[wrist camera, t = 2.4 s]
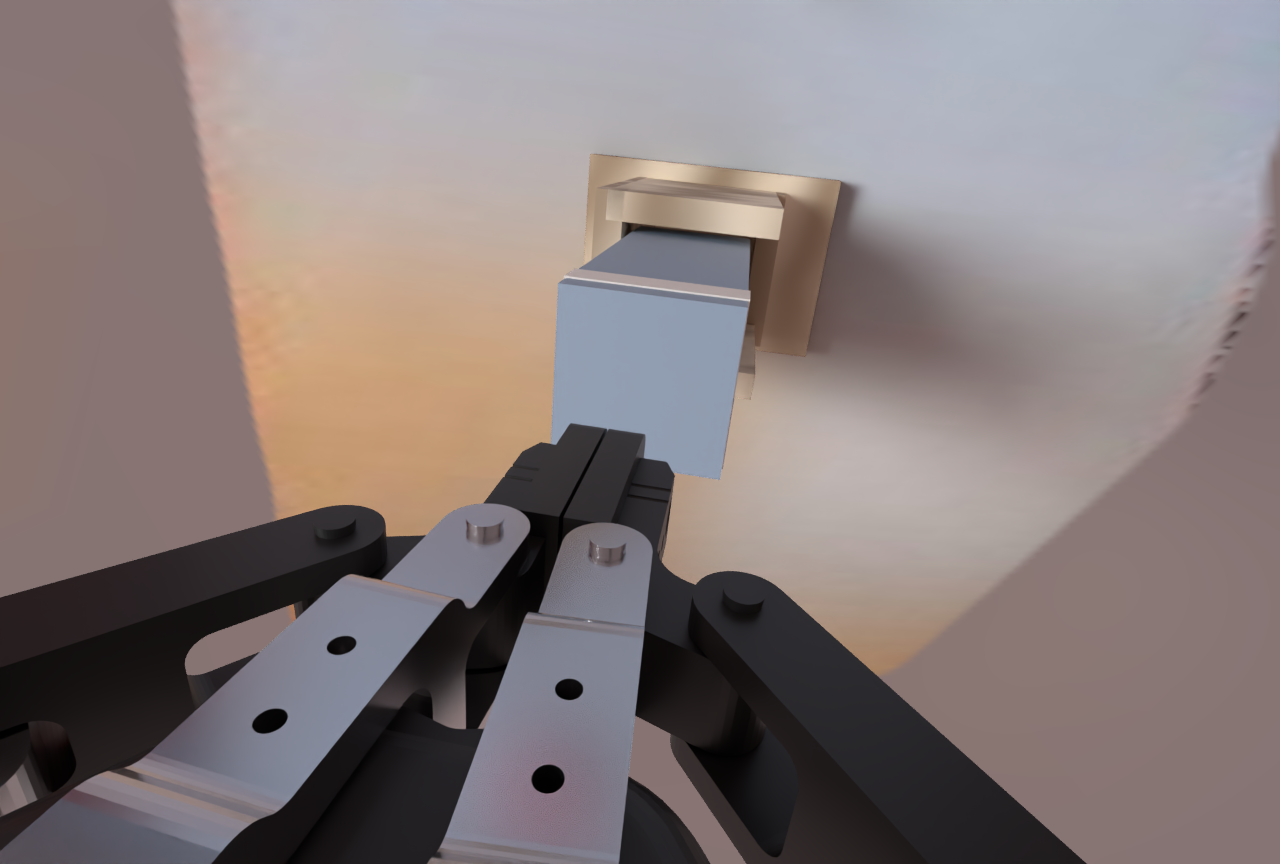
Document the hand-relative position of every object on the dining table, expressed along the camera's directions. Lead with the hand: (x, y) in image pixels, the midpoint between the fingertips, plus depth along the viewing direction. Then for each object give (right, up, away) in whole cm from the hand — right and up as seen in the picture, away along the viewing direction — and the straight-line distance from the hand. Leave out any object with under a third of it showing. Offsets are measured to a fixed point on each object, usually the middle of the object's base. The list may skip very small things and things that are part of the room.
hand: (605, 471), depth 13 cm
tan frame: (+4, +11, +27) cm, 29 cm away
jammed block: (+3, +8, +18) cm, 19 cm away
